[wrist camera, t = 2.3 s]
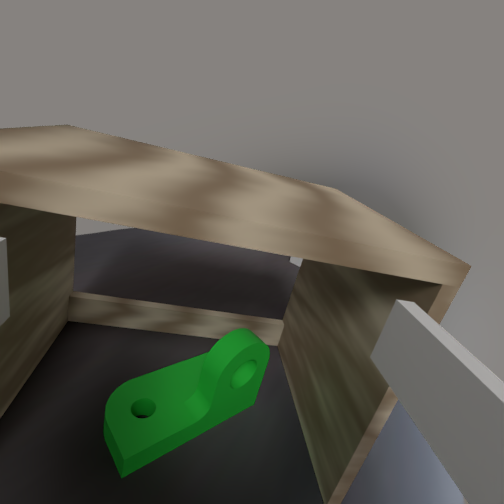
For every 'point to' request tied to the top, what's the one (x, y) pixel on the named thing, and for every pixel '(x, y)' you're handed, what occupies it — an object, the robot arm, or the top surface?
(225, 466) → the top surface
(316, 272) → the cubby box
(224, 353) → the mechanical part
